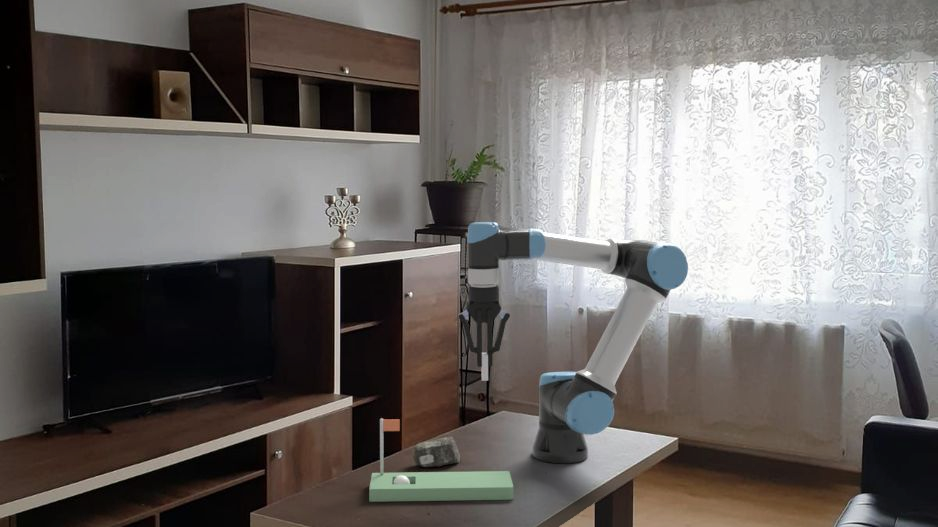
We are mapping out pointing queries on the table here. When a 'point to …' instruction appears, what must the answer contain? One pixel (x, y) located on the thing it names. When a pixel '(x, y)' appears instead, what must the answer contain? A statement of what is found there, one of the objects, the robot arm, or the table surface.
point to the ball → (401, 480)
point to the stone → (436, 452)
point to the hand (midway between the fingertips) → (484, 379)
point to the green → (437, 482)
